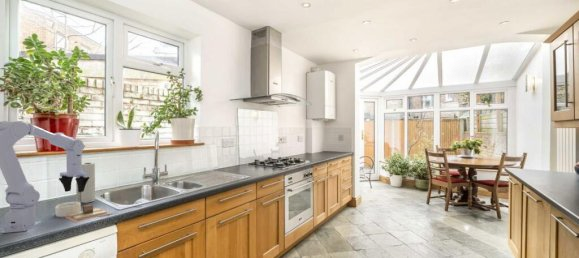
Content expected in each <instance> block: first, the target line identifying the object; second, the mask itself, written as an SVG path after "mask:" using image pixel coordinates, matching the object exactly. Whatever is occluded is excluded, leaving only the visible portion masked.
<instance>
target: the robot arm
mask: <svg viewBox="0 0 579 258" xmlns="http://www.w3.org/2000/svg"><path fill="white" fill-rule="evenodd" d="M28 135H30V136H34V137H37V138H40V139H44V140H46V141H48V142H49V144H50V145H52V146H56V147H57V148H61V149H63V150H64V151H65V153H66V157H65V158H66V171H64V172H59V178H58V180H59V182H61V185H62V186H63V189H64V191H65V192H71V190H72V182H73V180H75V181H76V182H77V185H78V192H83V191H84V188H85V185H86V183H87V181H88V180H89V173H85V172H82V164H83V163H82V160H83V158H82V155H83V151H84V149H85V147H86V145H85V144H84V142H83V141H82V140H80V139H75V138H74V137H73V136H68V135H65V133H64V132H55V133H53V132H50V131H48V130H45V129H44V128H41V127H39V126H36V125H34V124H33V123H29V122H26V121H24V120H16V121H12V120H11V121H8V120H7V121H6V120H3V121H0V171H1V173H2V176H3V178H4V181H5V182H6V186H7V188H5V190H4V193H5V198H4V199H5V202H6V203H7V204H9V211H8V212H6V213H5V214H4V216H3V230H2V231H1V232H0V233H1V234H7V233H8V234H9V233H17V232H26V231H28V230H30V229H31V228H34V227H35V226H37V225H39V224H40V223H42V221H36V218H37V217H36V205H37V203H38V202H39V200H40V198H41V194H40V192H39V191H38V190H36V189H35V187H34V185H32V184H31V183H30V182H28V180H27V178H26V175H25V173H24V171H23V168H22V166H21V164H20V162H19V159H18V156H17V154H16V151H15V149H14V145H16V143H17V142H18V141H20V140H22V139H23V138H25V137H26V136H28ZM76 177H80V178H76ZM65 192H64V193H65Z"/></svg>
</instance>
